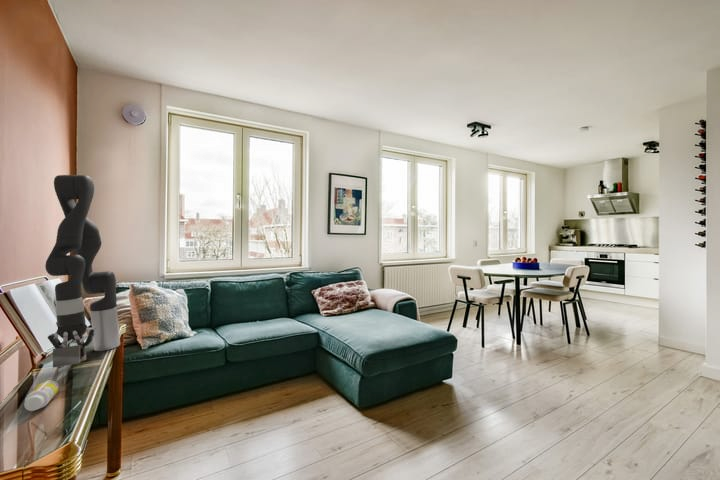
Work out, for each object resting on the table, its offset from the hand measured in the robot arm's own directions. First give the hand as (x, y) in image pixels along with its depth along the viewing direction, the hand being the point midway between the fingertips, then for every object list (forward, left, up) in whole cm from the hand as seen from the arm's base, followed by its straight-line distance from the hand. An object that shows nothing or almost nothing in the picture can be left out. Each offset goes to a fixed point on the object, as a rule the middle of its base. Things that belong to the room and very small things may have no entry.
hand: (75, 358), depth 121 cm
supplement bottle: (+16, -2, -3) cm, 16 cm away
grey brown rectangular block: (+1, 0, -1) cm, 2 cm away
